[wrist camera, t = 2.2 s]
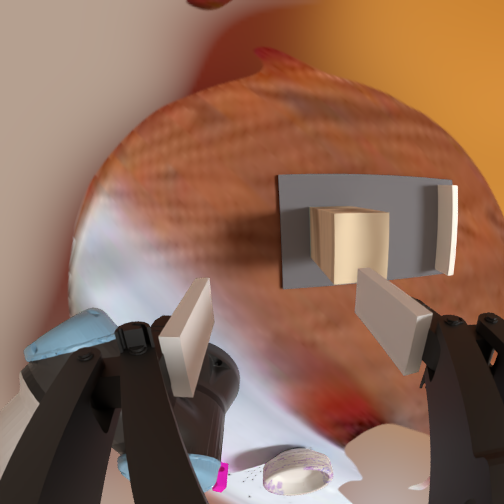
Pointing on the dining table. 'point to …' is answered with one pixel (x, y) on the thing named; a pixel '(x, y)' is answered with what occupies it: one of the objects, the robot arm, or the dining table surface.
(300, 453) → the paper bowls
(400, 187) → the gray ramp
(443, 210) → the stop rail
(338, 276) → the beech block
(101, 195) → the dining table surface
